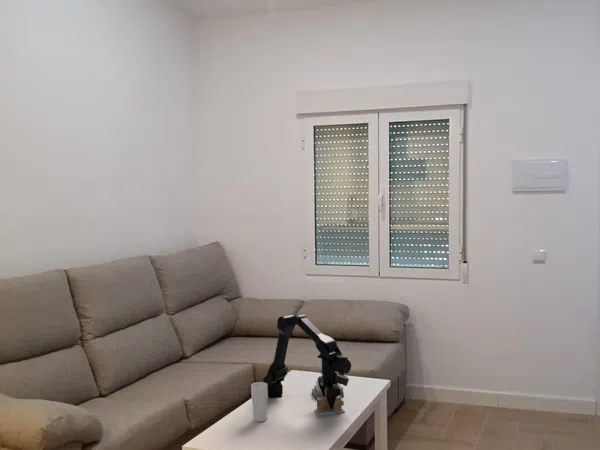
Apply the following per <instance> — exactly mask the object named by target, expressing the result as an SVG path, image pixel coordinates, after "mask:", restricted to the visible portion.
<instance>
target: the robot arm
mask: <svg viewBox="0 0 600 450" xmlns="http://www.w3.org/2000/svg"><path fill="white" fill-rule="evenodd" d="M296 325H297V327H298V328H300V329H301V330H302V331H303V333H305V334H306V335H307V336H308V337H309V339H311V340H312V341H313V342H314V344H315V348H316V349H317V350H318V353H319V355H317V359H318V358H319V359H320V360H321V361H320V362H321V370H320V374H321V376H318V378H317V380H316V381H318V385H319V387H320V390H321V392H322V394H323V396H324V397H325V396H326V398H327V401H328V404H329V406H330V409H333V408H334V404H335V400H336V397H338V396H339V395H341V389H340V388H339V387H338V386H334V385H338V383H339V384H341V386H342V385H343V387H347V386H348V384H349V381H350V378H349V377H348V376H347V375H346V374H349V373H350V371H351V369H352V363H351V361H350V360H349V359H348V358H349V357H348V356H343V353H342V352H341V350H340V348H339V346H338V343H337V341H336V340H335V339H333V338H332V337H331V336H329V335H326V334H324V333H323V332H321V331H320V330H319V328H317V327H316V325H314V324H313V323H312V322H311V321H310V320H309V319H308V318H307V316H306V315H305V314H298V315H293V314H286V315H281V316H279V317H278V318H277V322H276V329H277V331H278V338H277V343H276V347H275V352H274V356H273V357H274V359H273V361H272V363H271V364H270V365H269V367H268V370H267V373H266V375H265V376H264V377H263V378H262V380H263V381H262V382H264V383H267V390H268V396H267V399H268V398H270V399H271V398H280V397H283V394H284V392H283V390H284V389H283V388H284V387H283V384H282V382H284V381H285V378H286V376H287V375H288V370H289V367H288V366H286V363H285V361H286V357H287V351H288V347H289V346H288V345H289V341H290V336H291V334H292V332H293V331H294V330H295V327H296Z"/></svg>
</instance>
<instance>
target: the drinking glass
mask: <svg viewBox="0 0 600 450" xmlns="http://www.w3.org/2000/svg"><path fill="white" fill-rule="evenodd" d="M250 393H251V404H252V410H253V411H252V412H253V421H255V422H258V423H261V422H262V423H263V422H265V421H266V420H267V419H268V418H267V415H268V410H267V409H268V390H267V383H264V381H257V382H253V383H251V385H250Z"/></svg>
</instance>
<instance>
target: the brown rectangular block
mask: <svg viewBox="0 0 600 450" xmlns="http://www.w3.org/2000/svg"><path fill="white" fill-rule="evenodd" d="M344 403H345V401H344V400H343V399H342V397H340V396H338V397H336V400H335V404H334V408H333V409H330V406H329V404H328V401H327V398H326V396H325V397H317V399H316V409H317V411H318V412H329V411H339V410H341V406H342V407H344V406H345V404H344Z"/></svg>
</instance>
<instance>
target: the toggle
mask: <svg viewBox="0 0 600 450" xmlns="http://www.w3.org/2000/svg"><path fill="white" fill-rule="evenodd" d="M315 386H316V390H320V387H319V385H318V380H316V381H315Z"/></svg>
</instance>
